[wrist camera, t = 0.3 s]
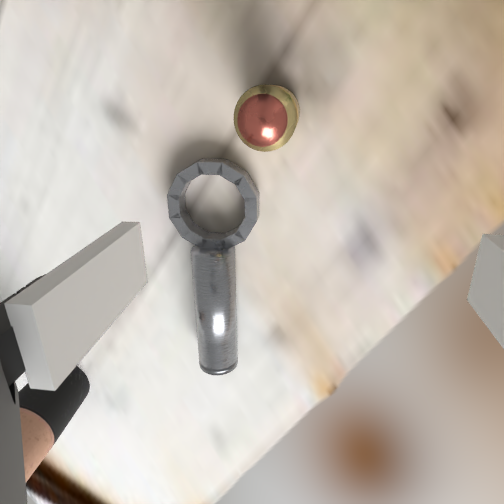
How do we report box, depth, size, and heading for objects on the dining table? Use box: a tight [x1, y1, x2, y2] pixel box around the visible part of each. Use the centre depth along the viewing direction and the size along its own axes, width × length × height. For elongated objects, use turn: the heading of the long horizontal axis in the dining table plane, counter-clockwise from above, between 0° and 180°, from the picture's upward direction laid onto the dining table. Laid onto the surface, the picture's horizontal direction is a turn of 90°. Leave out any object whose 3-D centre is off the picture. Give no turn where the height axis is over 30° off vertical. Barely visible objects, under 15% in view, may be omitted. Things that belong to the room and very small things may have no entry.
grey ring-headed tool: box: [167, 159, 259, 375], centre depth 41 cm, size 24×9×5 cm, turn 0°
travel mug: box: [18, 367, 90, 482], centre depth 45 cm, size 8×8×20 cm
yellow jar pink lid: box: [234, 85, 300, 152], centre depth 32 cm, size 5×5×10 cm
